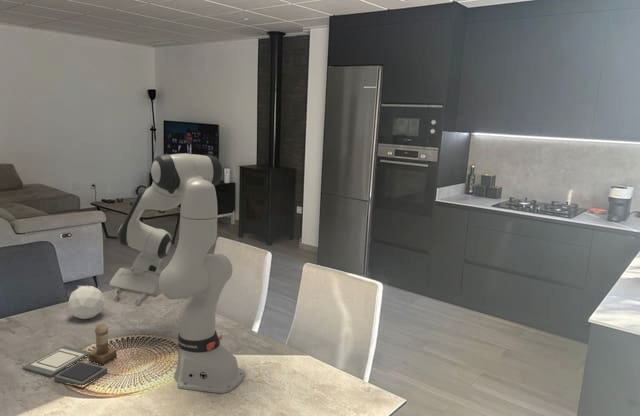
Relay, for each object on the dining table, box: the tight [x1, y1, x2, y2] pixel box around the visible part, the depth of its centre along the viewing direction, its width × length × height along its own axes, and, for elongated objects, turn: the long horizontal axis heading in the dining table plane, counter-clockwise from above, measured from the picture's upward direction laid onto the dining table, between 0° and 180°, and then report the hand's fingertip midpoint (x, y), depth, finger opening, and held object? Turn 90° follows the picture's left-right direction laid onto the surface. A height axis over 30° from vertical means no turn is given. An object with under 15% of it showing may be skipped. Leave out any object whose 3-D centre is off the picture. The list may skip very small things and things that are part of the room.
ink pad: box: [53, 360, 108, 386], centre depth 147 cm, size 11×10×2 cm
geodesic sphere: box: [67, 284, 106, 320], centre depth 189 cm, size 14×14×14 cm
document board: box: [22, 345, 91, 378], centre depth 155 cm, size 12×16×1 cm
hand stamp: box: [88, 323, 117, 366], centre depth 157 cm, size 6×6×13 cm
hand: (126, 303), depth 166 cm, fingers open, 8 cm apart
